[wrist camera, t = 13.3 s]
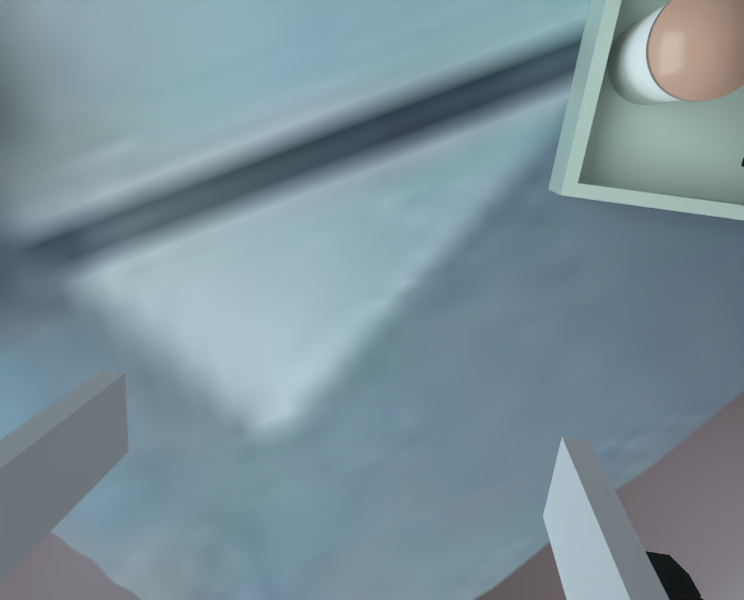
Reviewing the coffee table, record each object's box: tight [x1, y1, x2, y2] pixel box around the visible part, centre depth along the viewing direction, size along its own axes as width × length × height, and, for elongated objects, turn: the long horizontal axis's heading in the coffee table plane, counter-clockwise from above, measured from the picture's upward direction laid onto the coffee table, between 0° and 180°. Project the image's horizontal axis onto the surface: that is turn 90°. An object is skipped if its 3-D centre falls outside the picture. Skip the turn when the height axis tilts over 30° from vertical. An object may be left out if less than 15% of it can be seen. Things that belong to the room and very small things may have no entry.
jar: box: [608, 0, 744, 105], centre depth 35 cm, size 6×6×9 cm
